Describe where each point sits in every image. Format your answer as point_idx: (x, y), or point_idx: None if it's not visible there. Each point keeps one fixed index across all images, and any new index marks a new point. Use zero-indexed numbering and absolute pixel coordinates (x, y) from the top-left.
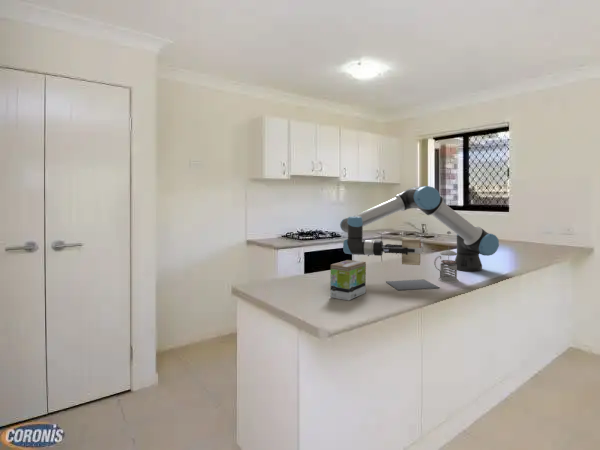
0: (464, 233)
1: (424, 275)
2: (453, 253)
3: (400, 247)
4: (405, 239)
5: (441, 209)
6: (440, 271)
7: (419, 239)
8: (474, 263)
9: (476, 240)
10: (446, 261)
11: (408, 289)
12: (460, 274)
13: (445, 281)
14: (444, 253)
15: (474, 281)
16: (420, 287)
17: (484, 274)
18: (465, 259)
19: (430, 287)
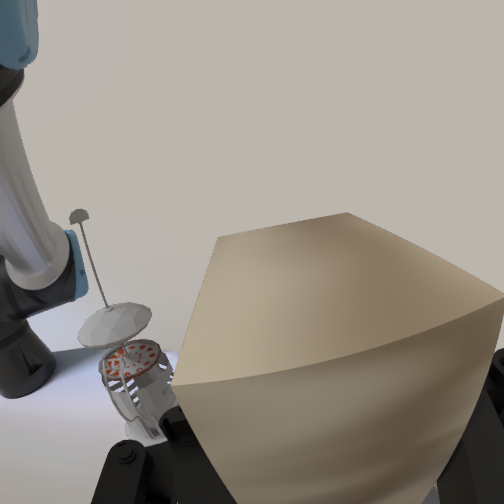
0: (45, 238)
1: (79, 491)
2: (140, 305)
3: (487, 445)
4: (430, 271)
5: (12, 106)
6: (152, 416)
7: (291, 223)
8: (43, 346)
9: (68, 255)
10: (116, 366)
11: (437, 494)
12: (78, 391)
13: None
14: (131, 326)
15: (170, 363)
16: None
17: (89, 352)
18: (25, 350)
19: None
